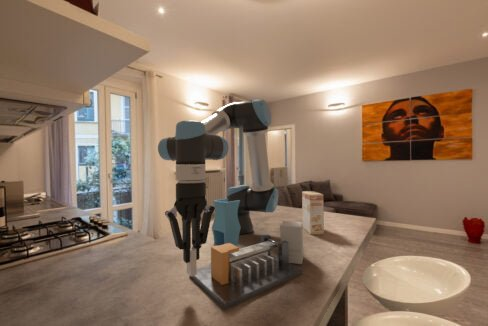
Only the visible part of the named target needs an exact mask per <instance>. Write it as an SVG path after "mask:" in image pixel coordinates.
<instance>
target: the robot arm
mask: <svg viewBox="0 0 488 326" xmlns="http://www.w3.org/2000/svg"><path fill="white" fill-rule="evenodd" d="M271 124H272V113H271V109H270V107H269V104H268V102H267V101H266V100H265V99H251V100H243V101H236V102H231V103H229V104H226V105H224V106H222V107H220V108H218V109H216V110H214V111H213V112H212V113H211V115H210V116H209V117H207V118H206V119H205V118H204V120H202V121H199V120H182V121H181V120H180V121H179V122H177V123H176V125H175V136H173V137H171V136H168V137H165V138H162V139H160V140H159V142H158V144H157V152H158V155H159V157H160V158H161V159H162V160H164V161H172V162H174V161H175V180H176V181H177V182H176V184H175V201H174V205H173V207H172V208H171V209H169V210H166V211H165V212H164V215H165V216H166V218H167V219H168V222H169V225H170V229H171V232H172V237H173V241H174V243H175V244H174V245H175V247H176V248H177V249H178V250H180V251H182V250H183V252H182V253H183V254H182V256H183V257H182V259H183V262H184V263H186V274H188V275H189V277H190V276H194V275H197V269H198V268H197V261H198V260H200V249H202V245H205V244H207V239H208V236H209V229H210V223H211V220H212V216H213V214H214V213H215V206H214V205H210V204H209V203H208V201H207V199H206V193H207V190H206V188H207V186H206V185H207V184H206V183H205V180H206V178H207V177H206V176H207V175H206V173H207V172H206V161H209V160H211V161H220V160H223V159H224V158H226V156H227V155H228V153H229V149H230V148H229V142H228V141H227V140H226V139H225V138H224V137H222V136H220V135H218V134H219V133H223V132H226V131H228V130H231V129H242V133H243V134H244V135H245V136H246V141H247V150H248V157H249V158H248V159H249V167H250V172H251V181H252V184H251V185H249V184H244V185H236V186H230V187H228V188H227V191H226V192H227V193H226V199H228V202H230V201H237V200H240V203H239V206H238V212H237V215H238V221H239V224H240V226H241V229H240V233H239V235H246V234H249V233H252V232H253V231H254V225H253V223H252V222H253V221H252V219H251V216H250V212H258V213H274V212H275V211H276V209H277V206H278V203H279V190H278V188H275V185H274V183H273V182H272V181H271V177H270V168H269V167H270V166H269V158H268V157H269V156H268V148H267V139H266V132H267V131H268V129H269V126H271ZM177 213H178V214H179V215H180V217H181V224H182V233H181V228H180V226H179V222H178V218H177V217H178V214H177ZM202 213H203V214H202Z"/></svg>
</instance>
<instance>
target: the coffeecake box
mask: <svg viewBox="0 0 488 326" xmlns="http://www.w3.org/2000/svg"><path fill="white" fill-rule="evenodd" d="M301 196H302V197H301V202H302V204H301V205H302V207H301V212H302V216H301V217H302V221H301V222H302V226H303V228H304V229H305V230H306V232H307V233H308V234H309V235H320V236H321V235H325V227H324V224H325V222H324V221H325V220H324V218H325V217H324V215H325V212H324V211H325V210H324V209H325V208H324V207H325V206H324V205H325V204H324V202H325V201H324V194H323V193H320V192H317V191H313V190H307V191H306V190H305V191H301Z"/></svg>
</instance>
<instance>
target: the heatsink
mask: <svg viewBox="0 0 488 326" xmlns="http://www.w3.org/2000/svg"><path fill="white" fill-rule="evenodd" d="M267 239H271V235H269V234H264V235H261V236H260V243H262V242H266V240H267ZM277 242H278V247H277V249H278V253H277V254H278V256H274V255H272V254H271V249H269V250H266V251H263V252H259V253H256V254H253V255H250V256H247V257H244V258H240V259H237V260H234V261H231V262H228V283H226V284H224V285H221V284H220V283H219V282H218V281H216V280H215V279H214V278H213V277H211V264H209V265H206V266H202V267H200V268H196V269H197V275H194V276H190V275H189V277H190V278H191V279H192V280H193V281H194V282H195V283H196V284H197V285H198V286H199V287H200V288H202V290H203V291H204V292H206V293H207V295H209V297H211V298H212V299H213V300H214V301H215V302H216V303H217V304H218V305H219V306H220V307H221V308H222V309H223V310H224V311H226V310H228V309H230V308H233V307H234V306H237V305H238V304H239V305H240V304H241V303H243V302H245V301H248V300H250V299H253V297H256V296H258V295H260V294H262V293H264V292H266V291H268V290H270V289H273V288H275V287H277V286H279V285H281V284H283V283H285V282H287V281H289V280H292V279H294V278H296V277H298V276H300V275H302V274H303V268H302V267H299V266H297V265H296V264H294V263H289V255H288V242H287V241H282V242H280V241H277Z"/></svg>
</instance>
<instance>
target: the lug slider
mask: <svg viewBox="0 0 488 326" xmlns="http://www.w3.org/2000/svg"><path fill="white" fill-rule="evenodd" d="M239 249H240V247H239V246H238V247H237V246H235V245H233V244H231V243H227V244H223V245H219V246H217V245H216V246H214V245H213V246H210V265H211V277H213V278H214V279H215V280H216V281H218V282H219V283H220V284H221V285H224V284H226V283H228V254H231V253H234V252H238V251H239Z"/></svg>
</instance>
